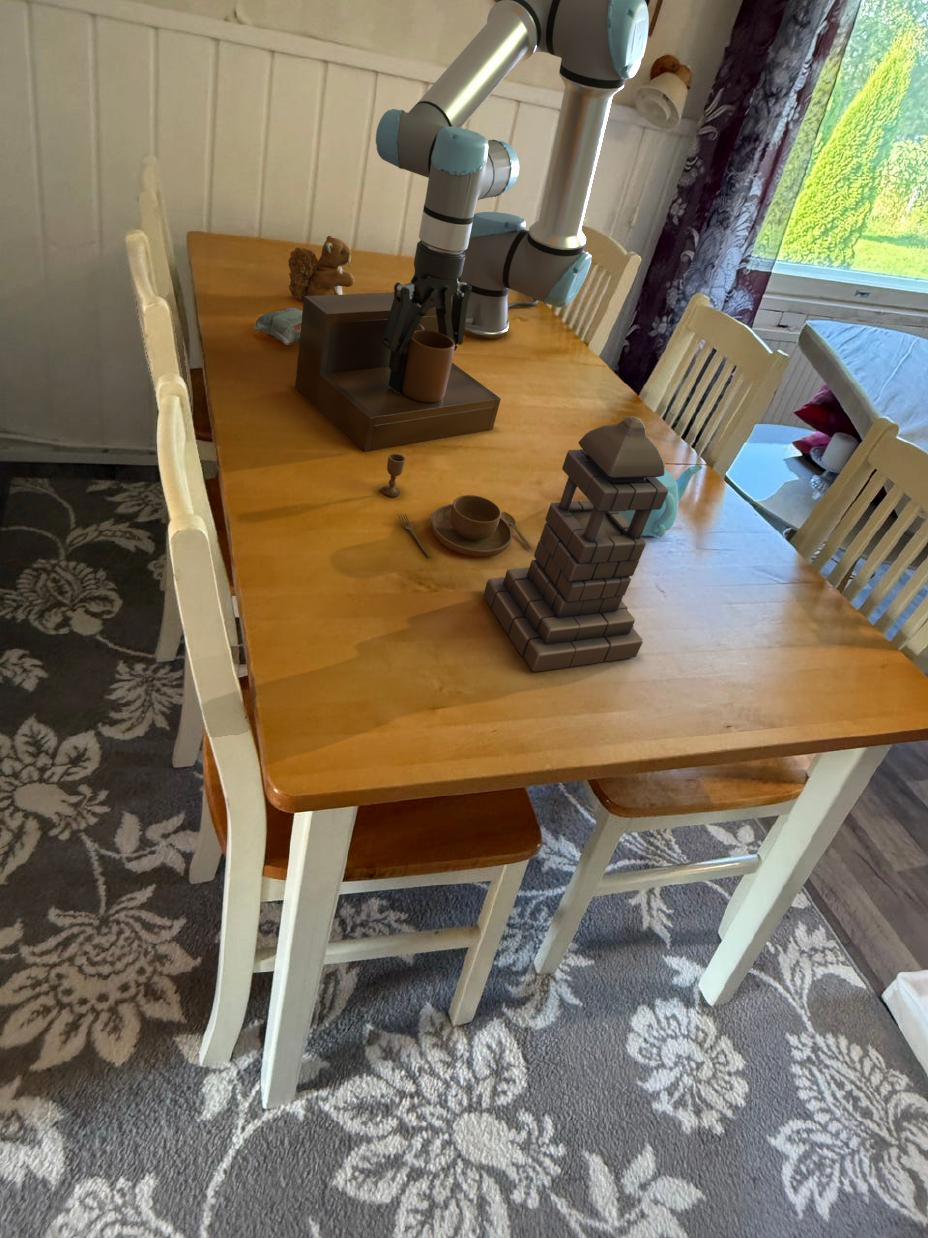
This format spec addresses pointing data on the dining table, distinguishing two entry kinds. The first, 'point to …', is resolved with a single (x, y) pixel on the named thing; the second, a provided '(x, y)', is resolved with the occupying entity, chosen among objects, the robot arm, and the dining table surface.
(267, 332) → the packaged food
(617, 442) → the miniature tower
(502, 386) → the dining table surface
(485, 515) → the place setting
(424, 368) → the mug
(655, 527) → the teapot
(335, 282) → the stuffed squirrel
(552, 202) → the robot arm
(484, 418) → the stepped stand
